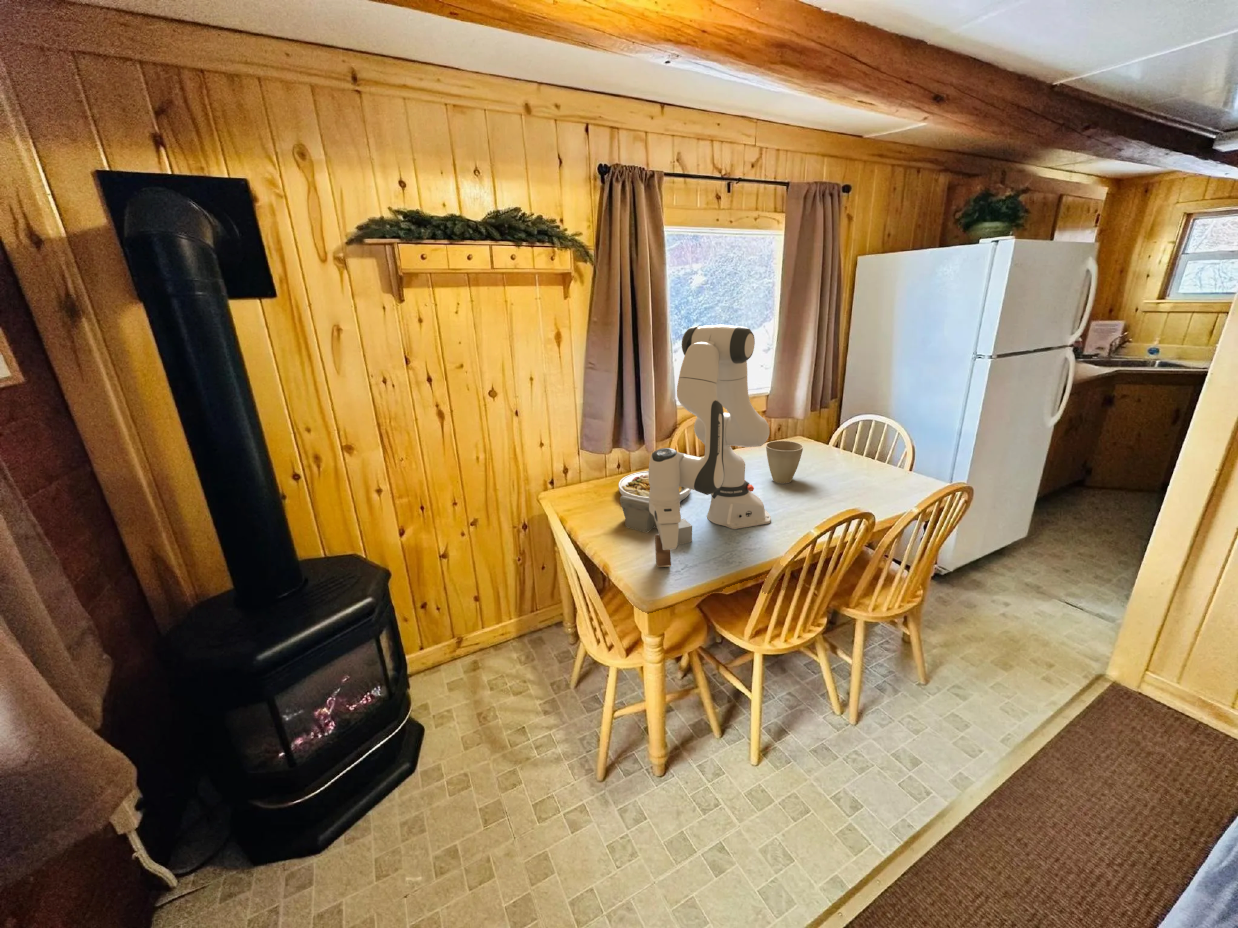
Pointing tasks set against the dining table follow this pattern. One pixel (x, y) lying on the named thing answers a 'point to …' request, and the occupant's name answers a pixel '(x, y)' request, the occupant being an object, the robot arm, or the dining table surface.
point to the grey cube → (684, 532)
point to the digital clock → (637, 514)
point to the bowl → (642, 486)
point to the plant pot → (783, 459)
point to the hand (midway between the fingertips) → (664, 547)
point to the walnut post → (661, 554)
